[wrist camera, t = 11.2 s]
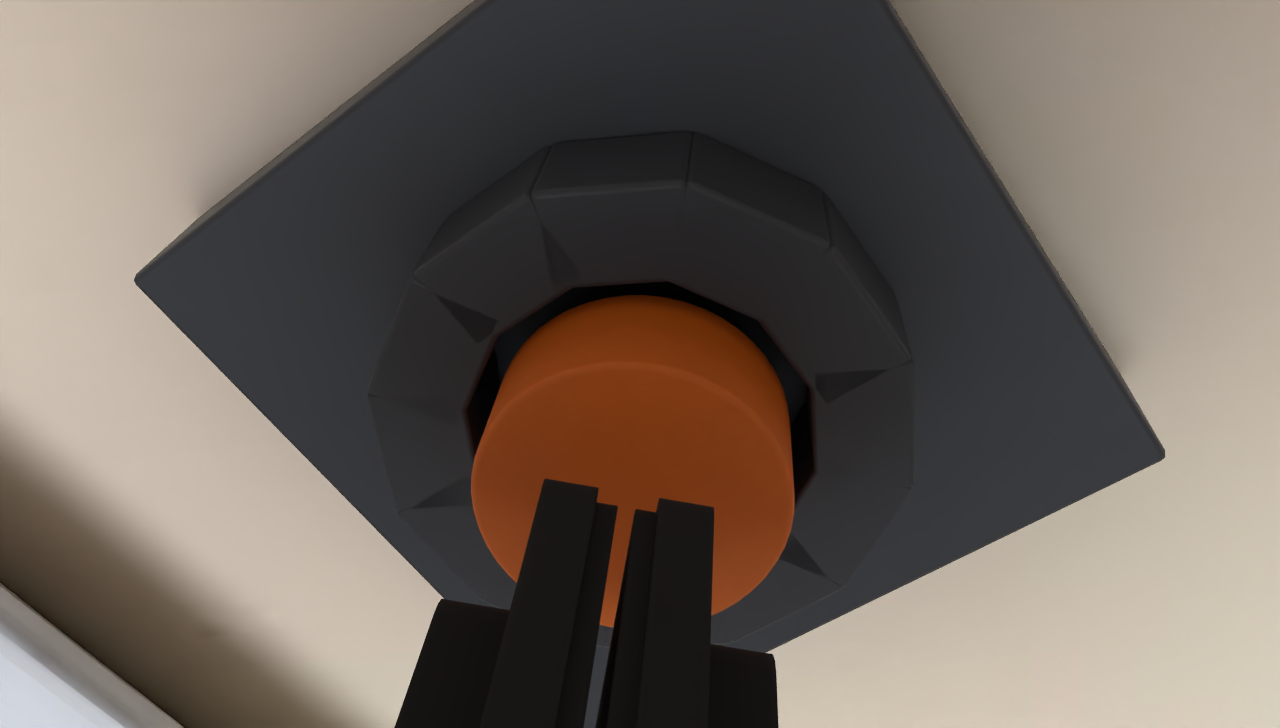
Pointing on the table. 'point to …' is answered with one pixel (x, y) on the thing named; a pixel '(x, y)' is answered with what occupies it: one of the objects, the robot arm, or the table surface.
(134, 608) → the table surface
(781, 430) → the button
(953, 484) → the button block
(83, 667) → the tray
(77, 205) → the table surface
